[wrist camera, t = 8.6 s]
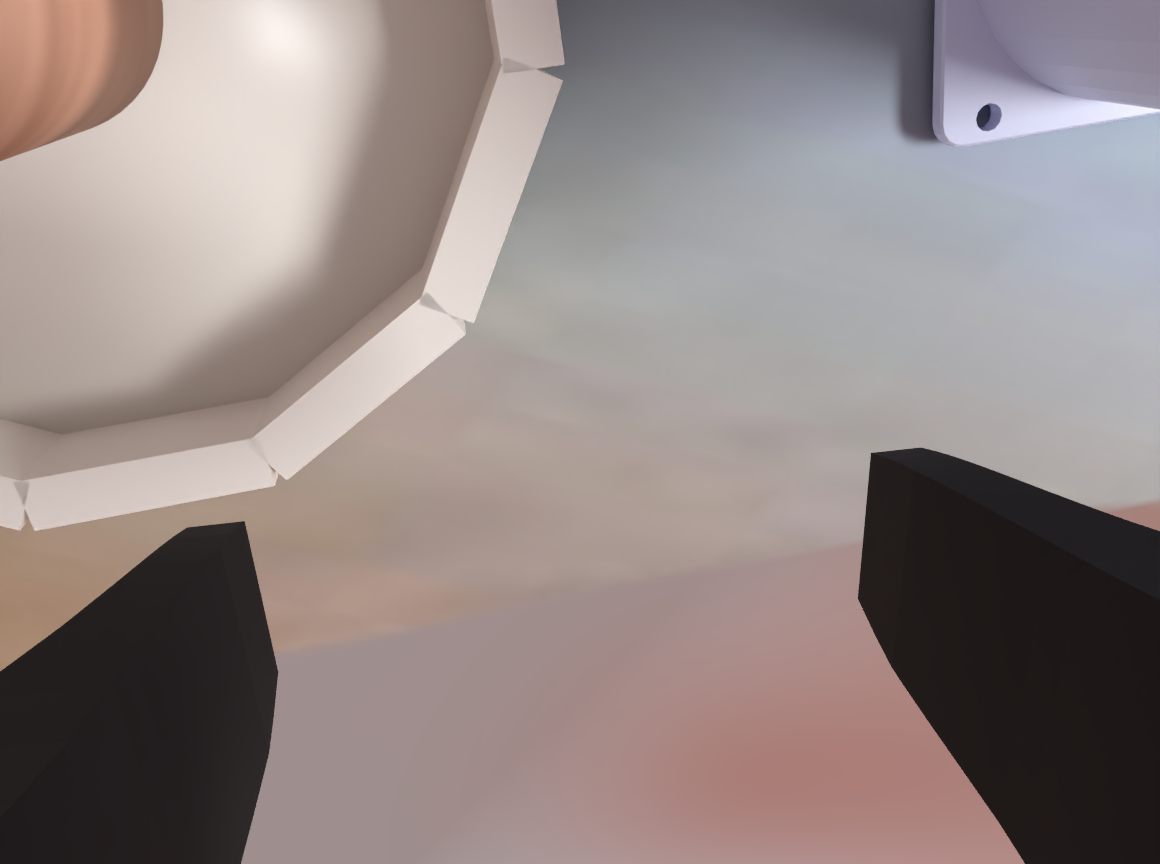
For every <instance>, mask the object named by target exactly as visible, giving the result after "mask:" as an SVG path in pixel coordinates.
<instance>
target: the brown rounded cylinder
mask: <svg viewBox="0 0 1160 864" xmlns="http://www.w3.org/2000/svg"><path fill="white" fill-rule="evenodd" d="M162 34H163V3H162V0H0V161H3V160H5V159H8V158H11V157H14V156H16V155H19V154H22V153H25V152H28V151H30V150H33V149H36V148H39V147H41V146H44V145H47V144H50V143H52V142H55V141H58V140H61V139H63V138H66V137H69V136H72V135H74V134H77V133H80V132H83V131H86V130H88V129H91V128H94V127H96V126H98V125H100V124H102V123H104V122H106V121H108V120H110V119H111V118H113V117H114V116H116V115H117V114H119V113H120V112H122V111H123V110H124V109H125V108H126V107H127V106H128V105H129V104H130V103H132V102H133V101H134V99H135V98H136V97H137V96H138V94H139V93H140V92H141V91H142V89H143V88H144V86H145V85H146V83H147V81H148V79H149V78H150V76H151V74H152V72H153V69H154V67H155V64H156V62H157V59H158V55H159V51H160V47H161V42H162Z"/></svg>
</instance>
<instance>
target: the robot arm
mask: <svg viewBox="0 0 1160 864" xmlns="http://www.w3.org/2000/svg"><path fill="white" fill-rule="evenodd" d="M987 104H988V105H989V106H990V110H991V115H990V119H989V121H988V122H987V124H986V125H985V126H984V127H981V128H979V127H978V126H977V121H976V118H977V114H978V112H979V111H980V109H981V108H982V107H983V106H985V105H987ZM1159 113H1160V0H935V21H934V70H933V119H932V124H933V130H934V134H935V135H936V137H937V138H938V140H939V141H941V142H943V143H944V144H946V145H950V146H953V147H966V146H972V145H977V144H983V143H989V142H995V141H1001V140H1007V139H1013V138H1018V137H1024V136H1030V135H1036V134H1042V133H1048V132H1054V131H1059V130H1065V129H1071V128H1077V127H1083V126H1089V125H1095V124H1100V123H1106V122H1112V121H1118V120H1124V119H1130V118H1135V117H1141V116H1147V115H1153V114H1159ZM858 600H859V602H860V604H861V606H862V608H863V610H864V612H865V614H866V617H867V619H868V621H869V623H870V625H871V627H872V629H873V632H874V633H875V636H876V638H877V639H878V642H879V644H880V645H881V647H882V649H883V651H884V653H885V655H886V657H887V659H888V661H889V663H890V665H891V667H892V668H893V670H894V671H895V673H896V674H897V676H898V677H899V679H900V680H901V682H902V683H903V685H904V686H905V688H906V689H907V691H908V692H909V694H910V695H911V697H912V698H913V700H914V701H915V703H916V704H917V705H918V707H919V708H920V710H921V711H922V713H923V714H924V715H925V717H926V719H927V720H928V721H929V723H930V724H931V726H932V727H933V729H934V730H935V732H936V733H937V734H938V736H939V737H940V738H941V740H942V742H943V743H944V744H945V746H946V747H947V749H948V750H949V751H950V753H951V754H952V756H953V757H954V759H955V760H956V762H957V763H958V764H959V766H960V767H961V769H962V770H963V771H964V773H965V774H966V776H967V777H968V778H969V780H970V782H971V783H972V784H973V786H974V787H975V789H976V790H977V791H978V793H979V794H980V796H981V797H982V799H983V800H984V802H985V803H986V804H987V806H988V807H989V809H990V810H991V812H992V813H993V814H994V816H995V817H996V819H997V820H998V821H999V823H1000V825H1001V826H1002V828H1003V829H1004V831H1005V833H1006V834H1007V836H1008V837H1009V839H1010V840H1011V842H1012V844H1013V845H1014V847H1015V848H1016V850H1017V851H1018V853H1019V855H1020V856H1021V858H1022V859H1023V861H1024V863H1025V864H1160V531H1157V530H1154V529H1151V528H1148V527H1145V526H1142V525H1139V524H1136V523H1133V522H1130V521H1127V520H1124V519H1122V518H1119V517H1116V516H1113V515H1110V514H1108V513H1105V512H1102V511H1099V510H1096V509H1094V508H1091V507H1088V506H1085V505H1083V504H1080V503H1077V502H1075V501H1072V500H1069V499H1067V498H1064V497H1061V496H1059V495H1056V494H1053V493H1051V492H1048V491H1045V490H1043V489H1040V488H1038V487H1035V486H1032V485H1030V484H1027V483H1025V482H1022V481H1019V480H1017V479H1014V478H1011V477H1009V476H1006V475H1003V474H1001V473H998V472H995V471H993V470H990V469H987V468H985V467H982V466H979V465H976V464H974V463H971V462H968V461H965V460H962V459H959V458H956V457H953V456H950V455H947V454H943V453H940V452H937V451H932V450H928V449H924V448H913V449H904V450H895V451H886V452H877V453H871V461H870V472H869V483H868V494H867V505H866V516H865V527H864V538H863V549H862V561H861V571H860V583H859V593H858ZM277 678H278V670H277V665H276V661H275V656H274V652H273V647H272V643H271V638H270V634H269V629H268V625H267V620H266V616H265V611H264V607H263V602H262V598H261V593H260V589H259V584H258V580H257V575H256V571H255V566H254V562H253V557H252V553H251V548H250V544H249V539H248V535H247V530H246V526H245V521H244V522H235V523H225V524H216V525H207V526H198V527H189V528H186V529H185V530H183V531H181V532H180V533H178V534H177V535H175V536H174V537H173V538H171V539H170V540H168V541H167V542H166V543H165V544H163V545H162V546H161V547H159V548H158V549H157V550H156V551H154V552H153V553H152V554H151V555H149V556H148V557H147V558H146V559H144V560H143V561H142V562H141V563H140V564H138V565H137V566H136V567H135V568H133V569H132V570H131V571H130V572H128V573H127V574H126V575H125V576H124V577H122V578H121V579H120V580H119V581H117V582H116V583H115V584H114V585H113V586H111V587H110V588H109V589H108V590H106V591H105V592H104V593H103V594H101V595H100V596H99V597H98V598H96V599H95V600H94V601H93V602H91V603H90V604H89V605H88V606H86V607H85V608H84V609H83V610H81V611H80V612H79V613H78V614H77V615H75V616H74V617H73V618H72V619H70V620H69V621H68V622H67V623H65V624H64V625H63V626H61V627H60V628H59V629H57V630H56V631H55V632H53V633H52V634H51V635H49V636H48V637H47V638H45V639H44V640H42V641H41V642H40V643H38V644H37V645H36V646H34V647H33V648H32V649H30V650H29V651H28V652H26V653H25V654H23V655H22V656H21V657H19V658H18V659H17V660H15V661H14V662H13V663H11V664H10V665H9V666H7V667H6V668H5V669H3V670H2V671H0V864H241V861H242V857H243V853H244V849H245V845H246V842H247V837H248V834H249V830H250V826H251V822H252V819H253V815H254V811H255V807H256V802H257V799H258V795H259V791H260V787H261V782H262V779H263V775H264V771H265V767H266V763H267V759H268V754H269V749H270V741H271V733H272V725H273V717H274V707H275V697H276V688H277V687H276V686H277Z"/></svg>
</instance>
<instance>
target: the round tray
mask: <svg viewBox="0 0 1160 864" xmlns="http://www.w3.org/2000/svg"><path fill="white" fill-rule="evenodd" d="M162 3H163V34H162V42H161V47H160V51H159V55H158V59H157V62H156V64H155V67H154V69H153V72H152V74H151V76H150V78H149V79H148V81H147V83H146V85H145V86H144V88H143V89H142V91H141V92H140V93H139V94H138V96H137V97H136V98H135V99H134V101H133V102H132V103H130V104H129V105H128V106H127V107H126V108H125V109H124V110H123V111H122V112H120V113H119V114H117V115H116V116H114V117H113V118H111V119H110V120H108V121H106V122H104V123H102V124H100V125H98V126H96V127H94V128H91V129H88V130H86V131H83V132H80V133H77V134H74V135H72V136H69V137H66V138H63V139H61V140H58V141H55V142H52V143H50V144H47V145H44V146H41V147H39V148H36V149H33V150H30V151H28V152H25V153H22V154H19V155H16V156H14V157H11V158H8V159H5V160H3V161H0V526H3V527H7V528H11V529H15V530H21V528H22V527H23V526H24V525H25V523H26V522H27V521H28V519H30V522H31V524H32V526H33V528H34V530H35V531H38V530H43V529H48V528H54V527H59V526H64V525H70V524H75V523H80V522H86V521H91V520H96V519H102V518H107V517H112V516H117V515H123V514H128V513H133V512H139V511H144V510H149V509H155V508H160V507H165V506H171V505H176V504H181V503H187V502H192V501H197V500H203V499H208V498H213V497H218V496H224V495H229V494H234V493H240V492H245V491H250V490H256V489H261V488H266V487H272V486H275V483H276V480H277V477H278V474H280V475H281V476H282V477H284V478H285V479H286V480H288V479H289V478H290V477H292V476H293V475H294V474H295V473H297V472H298V471H299V470H300V469H301V468H303V467H304V466H305V465H306V464H308V463H309V462H310V461H311V460H312V459H314V458H315V457H316V456H317V455H319V454H320V453H321V452H322V451H323V450H325V449H326V448H327V447H328V446H330V445H331V444H332V443H333V442H334V441H336V440H337V439H338V438H339V437H341V436H342V435H343V434H344V433H345V432H347V431H348V430H349V429H350V428H352V427H353V426H354V425H355V424H356V423H358V422H359V421H360V420H361V419H363V418H364V417H365V416H366V415H367V414H369V413H370V412H371V411H372V410H374V409H375V408H376V407H377V406H379V405H380V404H381V403H382V402H383V401H385V400H386V399H387V398H388V397H390V396H391V395H392V394H393V393H394V392H396V391H397V390H398V389H399V388H401V387H402V386H403V385H404V384H405V383H407V382H408V381H409V380H410V379H412V378H413V377H414V376H415V375H416V374H418V373H419V372H420V371H421V370H423V369H424V368H425V367H426V366H427V365H429V364H430V363H431V362H432V361H434V360H435V359H436V358H437V357H438V356H440V355H441V354H442V353H443V352H445V351H446V350H447V349H448V348H450V347H451V346H452V345H453V344H454V343H456V342H457V341H458V340H459V339H461V338H462V337H463V336H464V335H465V334H466V331H465V322H464V320H466V321H469V322H472V323H474V321H475V318H476V316H477V313H478V310H479V308H480V305H481V302H482V299H483V297H484V294H485V291H486V289H487V286H488V283H489V280H490V278H491V275H492V272H493V270H494V267H495V264H496V261H497V259H498V256H499V253H500V251H501V248H502V245H503V243H504V240H505V237H506V234H507V232H508V229H509V226H510V224H511V221H512V218H513V215H514V213H515V210H516V207H517V205H518V202H519V199H520V196H521V194H522V191H523V188H524V186H525V183H526V180H527V178H528V175H529V172H530V169H531V167H532V164H533V161H534V159H535V156H536V153H537V150H538V148H539V145H540V142H541V140H542V137H543V134H544V131H545V129H546V126H547V123H548V121H549V118H550V115H551V113H552V110H553V107H554V104H555V102H556V99H557V96H558V94H559V91H560V88H561V85H562V83H563V80H561V79H559V78H557V77H555V76H553V75H552V74H550V73H548V72H545V71H543V70H541V69H540V68H546V67H552V66H559V65H565V61H564V53H563V46H562V39H561V31H560V24H559V17H558V9H557V2H556V0H162Z"/></svg>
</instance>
